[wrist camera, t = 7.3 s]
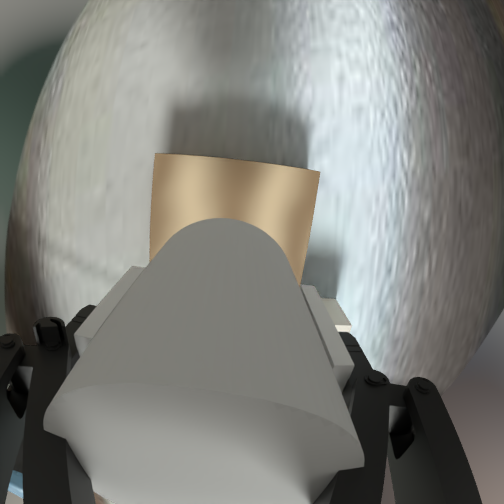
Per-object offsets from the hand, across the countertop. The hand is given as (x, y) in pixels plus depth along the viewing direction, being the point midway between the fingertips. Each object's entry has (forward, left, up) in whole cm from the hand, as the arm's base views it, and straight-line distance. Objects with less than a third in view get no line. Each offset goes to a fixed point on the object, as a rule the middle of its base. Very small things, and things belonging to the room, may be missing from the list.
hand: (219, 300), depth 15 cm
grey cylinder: (0, 0, -2) cm, 2 cm away
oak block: (0, 0, -16) cm, 16 cm away
